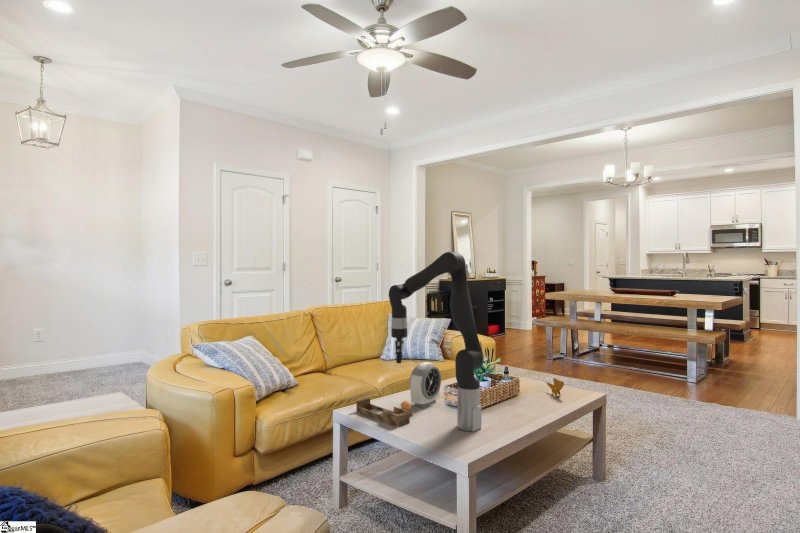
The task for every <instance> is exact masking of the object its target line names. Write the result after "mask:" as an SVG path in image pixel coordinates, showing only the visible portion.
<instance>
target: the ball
mask: <svg viewBox="0 0 800 533" xmlns="http://www.w3.org/2000/svg"><path fill="white" fill-rule="evenodd" d="M400 407H401V409H404V410H407V411H408V410H409V409H411V408H412V407H411V401H408V400H403V401H402V402H401V405H400Z"/></svg>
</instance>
